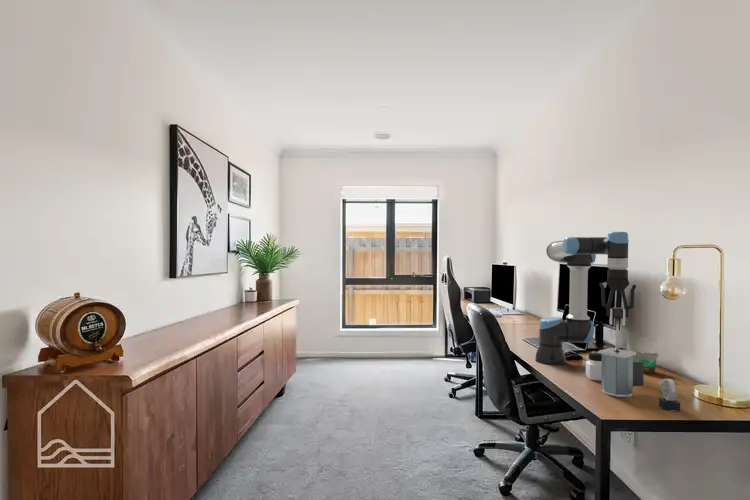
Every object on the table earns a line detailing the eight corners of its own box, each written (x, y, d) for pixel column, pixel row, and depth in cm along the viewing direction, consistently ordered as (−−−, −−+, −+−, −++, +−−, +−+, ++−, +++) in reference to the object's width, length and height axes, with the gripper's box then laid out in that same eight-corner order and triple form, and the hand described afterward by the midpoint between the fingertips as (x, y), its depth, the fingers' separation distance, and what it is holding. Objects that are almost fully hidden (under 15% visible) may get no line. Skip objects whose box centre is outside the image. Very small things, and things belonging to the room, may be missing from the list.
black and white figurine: (606, 381, 199) (606, 354, 199) (589, 380, 201) (589, 353, 201) (601, 376, 206) (601, 351, 206) (585, 375, 208) (585, 350, 208)
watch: (673, 405, 168) (673, 377, 168) (682, 413, 160) (682, 383, 160) (656, 404, 170) (657, 375, 170) (664, 411, 162) (664, 381, 162)
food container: (632, 373, 213) (633, 352, 213) (629, 369, 219) (629, 349, 219) (661, 375, 209) (662, 354, 209) (657, 371, 215) (657, 351, 215)
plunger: (611, 360, 188) (611, 306, 188) (632, 364, 181) (633, 308, 181) (601, 363, 183) (601, 307, 183) (622, 367, 176) (623, 310, 176)
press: (614, 385, 193) (615, 346, 193) (644, 392, 183) (644, 351, 183) (596, 392, 184) (596, 350, 183) (626, 400, 174) (626, 356, 174)
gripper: (595, 268, 182) (594, 324, 182) (642, 269, 175) (642, 327, 175) (594, 267, 189) (594, 321, 189) (640, 268, 182) (639, 324, 182)
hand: (617, 324), depth 182 cm, fingers closed on plunger, 4 cm apart
